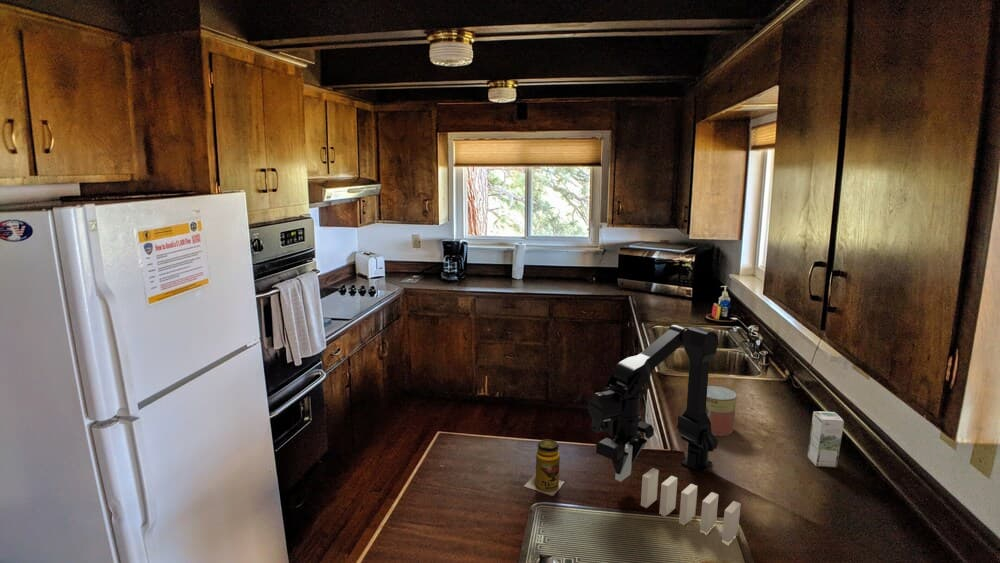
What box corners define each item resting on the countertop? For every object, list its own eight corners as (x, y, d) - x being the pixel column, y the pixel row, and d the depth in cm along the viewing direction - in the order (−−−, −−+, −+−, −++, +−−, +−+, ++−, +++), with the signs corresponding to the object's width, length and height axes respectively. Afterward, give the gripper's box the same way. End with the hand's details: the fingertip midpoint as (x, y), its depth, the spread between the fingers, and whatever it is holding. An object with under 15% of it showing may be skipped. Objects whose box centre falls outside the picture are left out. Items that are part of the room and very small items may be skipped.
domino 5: (708, 522, 130) (711, 491, 129) (715, 525, 129) (718, 494, 128) (699, 532, 127) (702, 500, 125) (706, 535, 126) (709, 503, 124)
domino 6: (730, 532, 127) (733, 500, 125) (737, 535, 126) (740, 503, 124) (721, 542, 124) (724, 510, 122) (728, 546, 122) (731, 513, 121)
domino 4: (688, 513, 134) (691, 483, 132) (694, 516, 133) (697, 486, 131) (678, 523, 130) (681, 492, 129) (685, 526, 129) (688, 494, 128)
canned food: (688, 422, 183) (691, 387, 180) (717, 418, 186) (720, 384, 183) (710, 437, 172) (714, 401, 170) (741, 433, 175) (744, 397, 173)
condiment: (553, 496, 140) (554, 452, 138) (523, 486, 145) (524, 444, 142) (564, 482, 147) (566, 440, 144) (535, 473, 151) (536, 432, 148)
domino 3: (669, 505, 137) (671, 475, 136) (675, 507, 136) (677, 478, 135) (659, 513, 134) (661, 483, 132) (665, 516, 133) (667, 486, 131)
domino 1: (625, 471, 145) (627, 443, 143) (630, 474, 144) (632, 445, 142) (615, 479, 141) (616, 450, 140) (620, 481, 140) (622, 452, 139)
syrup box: (827, 457, 161) (834, 410, 158) (837, 468, 155) (844, 419, 152) (806, 456, 161) (812, 409, 158) (816, 467, 155) (822, 418, 153)
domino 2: (650, 496, 141) (652, 467, 139) (656, 499, 140) (658, 470, 138) (640, 505, 137) (642, 475, 135) (646, 508, 136) (648, 478, 134)
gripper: (619, 393, 151) (616, 446, 154) (578, 414, 138) (576, 471, 141) (656, 405, 144) (652, 460, 147) (617, 428, 130) (614, 489, 134)
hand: (623, 469), depth 142 cm, fingers closed on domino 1, 5 cm apart
